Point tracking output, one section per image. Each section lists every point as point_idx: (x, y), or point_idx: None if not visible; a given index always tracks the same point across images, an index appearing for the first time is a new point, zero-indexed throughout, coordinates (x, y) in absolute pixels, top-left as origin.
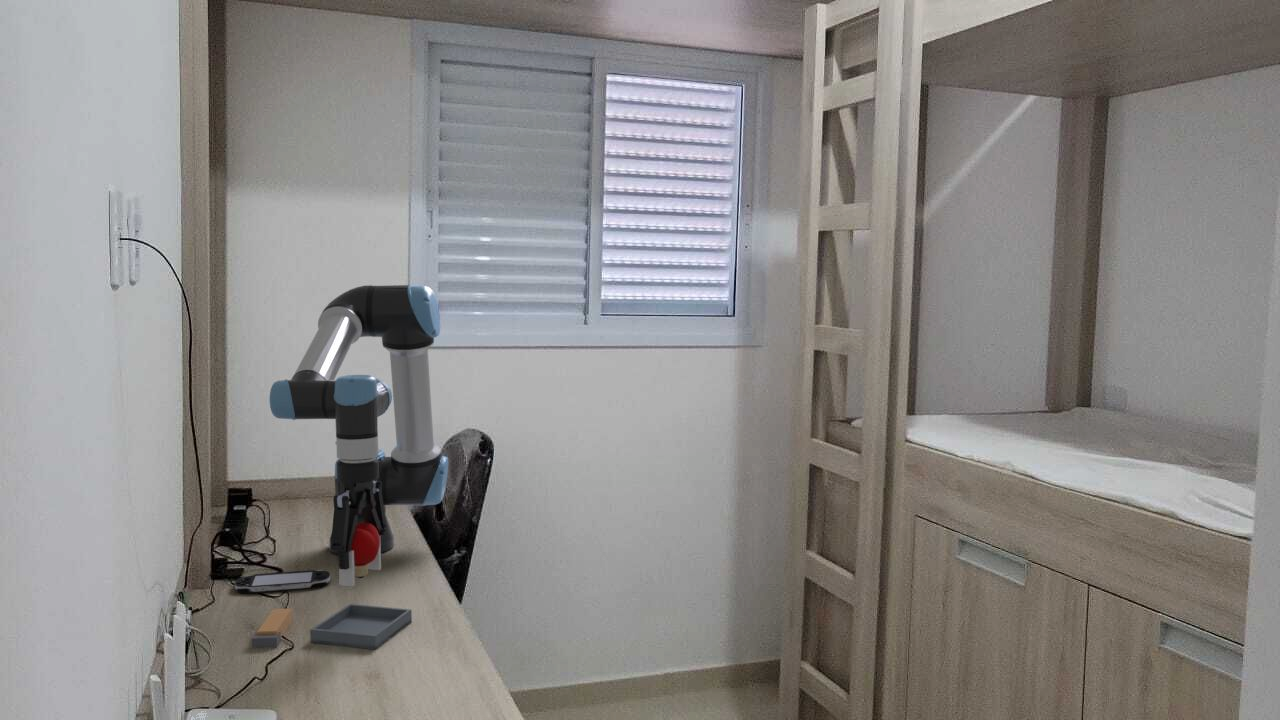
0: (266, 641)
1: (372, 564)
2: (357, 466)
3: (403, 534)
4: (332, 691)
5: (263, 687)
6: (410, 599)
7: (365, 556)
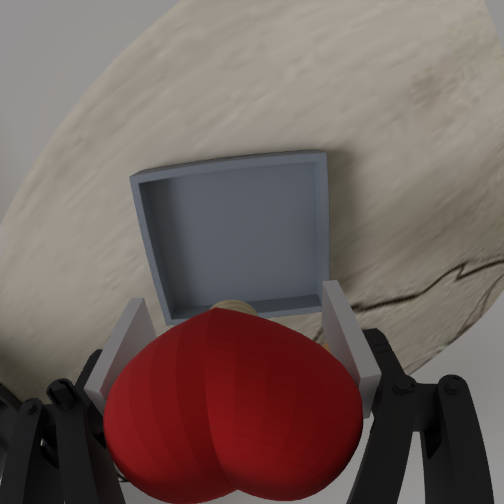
0: None
1: (145, 330)
2: None
3: None
4: (485, 134)
5: (484, 244)
6: (50, 255)
7: (290, 330)
